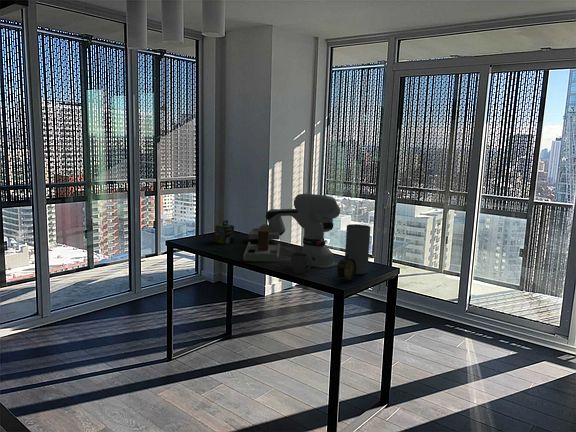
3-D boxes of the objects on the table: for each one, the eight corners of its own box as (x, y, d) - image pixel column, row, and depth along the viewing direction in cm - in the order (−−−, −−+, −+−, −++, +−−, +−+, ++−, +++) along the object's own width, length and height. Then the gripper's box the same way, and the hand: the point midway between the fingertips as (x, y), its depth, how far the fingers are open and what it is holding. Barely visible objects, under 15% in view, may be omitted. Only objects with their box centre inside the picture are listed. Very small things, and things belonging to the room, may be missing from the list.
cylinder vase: (347, 267, 271) (350, 223, 266) (369, 270, 266) (372, 225, 262) (341, 273, 259) (343, 227, 255) (364, 276, 255) (367, 229, 250)
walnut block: (259, 245, 310) (259, 226, 308) (268, 245, 310) (269, 227, 308) (257, 250, 296) (258, 231, 294) (267, 250, 296) (268, 231, 294)
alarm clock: (343, 284, 239) (345, 252, 236) (334, 282, 243) (336, 250, 240) (356, 280, 247) (357, 249, 244) (347, 277, 251) (349, 247, 248)
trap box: (248, 246, 312) (248, 239, 312) (279, 247, 312) (279, 240, 312) (243, 260, 277) (243, 253, 276) (278, 261, 277) (278, 254, 276)
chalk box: (224, 240, 327) (224, 218, 325) (234, 242, 322) (234, 220, 320) (214, 242, 320) (214, 220, 318) (224, 244, 315) (224, 222, 312)
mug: (287, 272, 257) (287, 254, 255) (296, 268, 264) (297, 251, 262) (306, 276, 250) (306, 258, 248) (315, 273, 257) (316, 255, 256)
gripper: (280, 238, 324) (279, 243, 310) (249, 238, 324) (247, 243, 310) (280, 229, 323) (280, 233, 309) (249, 228, 322) (247, 233, 309)
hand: (263, 238), depth 309 cm, fingers closed
